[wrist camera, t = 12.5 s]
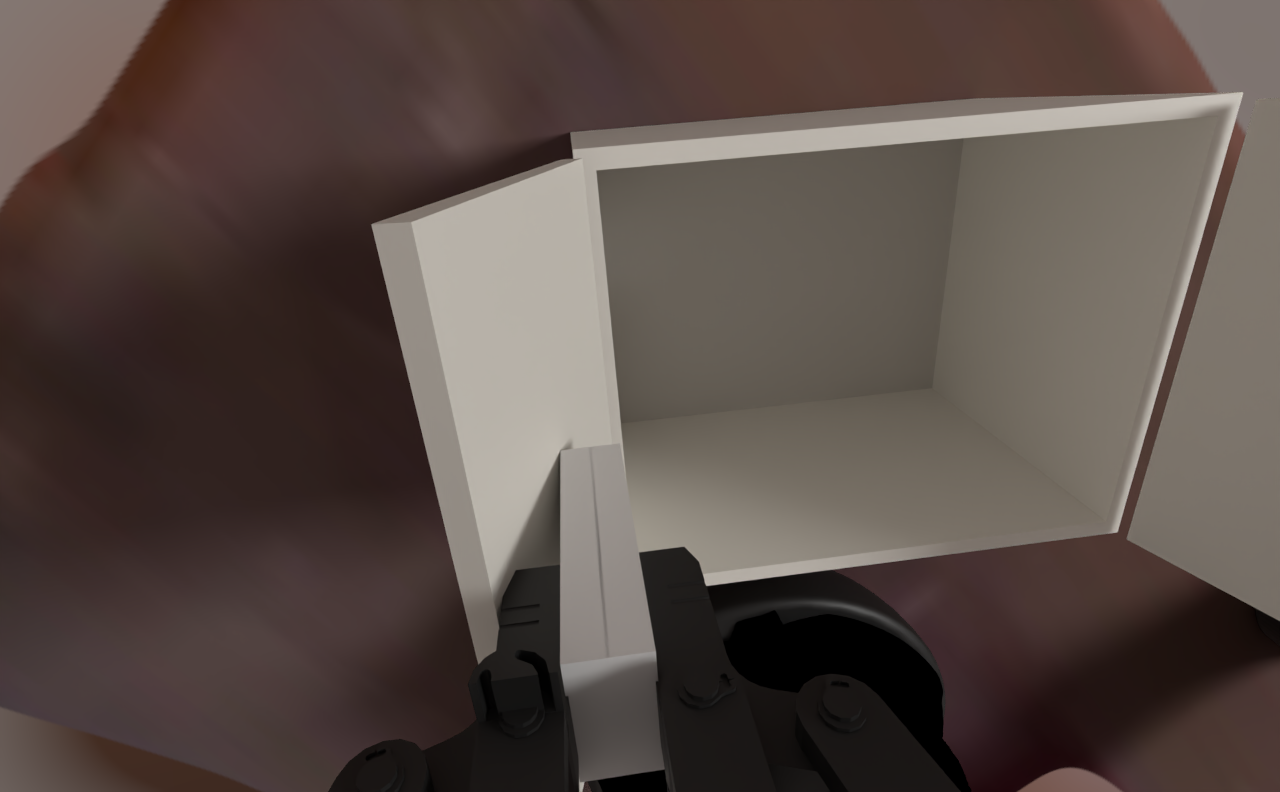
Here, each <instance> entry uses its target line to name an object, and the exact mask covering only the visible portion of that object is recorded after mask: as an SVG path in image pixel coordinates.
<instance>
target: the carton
mask: <svg viewBox="0 0 1280 792" xmlns="http://www.w3.org/2000/svg"><path fill="white" fill-rule="evenodd" d="M1242 96H1243V92H1232V93H1189V94H1147V95H1104V96H1062V97H1020V98H977V99H962V100H951V101H939V102H927V103H915V104H903V105H891V106H879V107H867V108H855V109H843V110H831V111H819V112H807V113H795V114H783V115H771V116H759V117H748V118H736V119H724V120H712V121H700V122H688V123H676V124H664V125H652V126H640V127H628V128H616V129H604V130H592V131H580V132H570V135H571V144H572V153H573V159H578V158H582V159H583V169H584V178H585V188H586V197H587V207H588V216H589V226H590V236H591V245H592V255H593V264H594V274H595V283H596V293H597V302H598V312H599V322H600V331H601V341H602V350H603V360H604V369H605V379H606V389H607V398H608V408H609V417H610V427H611V436H612V444H618V443H620V447H621V453H622V459H623V464H624V470H625V476H626V482H627V487H628V493H629V499H630V505H631V511H632V516H633V522H634V528H635V534H636V539H637V545H638V551H639V552H646V551H654V550H662V549H669V548H677V547H685V548H686V549H687V550H688V551H689V552H690V553H691V554H692V555H693V556H694V557H695V558H696V559H697V560H698V561H699V563H700V567H701V570H702V573H703V577H704V580H705V584H706V586H710V585H718V584H726V583H733V582H741V581H749V580H756V579H764V578H771V577H779V576H787V575H794V574H802V573H810V572H817V571H825V570H833V569H840V568H848V567H856V566H863V565H871V564H879V563H886V562H894V561H902V560H909V559H917V558H925V557H932V556H940V555H948V554H955V553H963V552H970V551H978V550H986V549H993V548H1001V547H1009V546H1016V545H1024V544H1032V543H1039V542H1047V541H1055V540H1062V539H1070V538H1078V537H1085V536H1093V535H1101V534H1108V533H1116V532H1118V528H1119V525H1120V521H1121V518H1122V514H1123V511H1124V507H1125V504H1126V500H1127V497H1128V493H1129V490H1130V486H1131V483H1132V479H1133V476H1134V472H1135V469H1136V466H1137V462H1138V459H1139V455H1140V452H1141V448H1142V445H1143V441H1144V438H1145V434H1146V431H1147V427H1148V424H1149V420H1150V417H1151V413H1152V410H1153V406H1154V403H1155V399H1156V396H1157V392H1158V389H1159V385H1160V382H1161V378H1162V375H1163V371H1164V368H1165V364H1166V361H1167V357H1168V354H1169V350H1170V347H1171V343H1172V340H1173V336H1174V333H1175V329H1176V326H1177V322H1178V319H1179V315H1180V312H1181V309H1182V305H1183V302H1184V298H1185V295H1186V291H1187V288H1188V284H1189V281H1190V277H1191V274H1192V270H1193V267H1194V263H1195V260H1196V256H1197V253H1198V249H1199V246H1200V242H1201V239H1202V235H1203V232H1204V228H1205V225H1206V221H1207V218H1208V214H1209V211H1210V207H1211V204H1212V200H1213V197H1214V193H1215V190H1216V186H1217V183H1218V179H1219V176H1220V172H1221V169H1222V165H1223V162H1224V158H1225V155H1226V152H1227V148H1228V145H1229V141H1230V138H1231V134H1232V131H1233V127H1234V124H1235V120H1236V117H1237V113H1238V110H1239V106H1240V102H1241V99H1242Z"/></svg>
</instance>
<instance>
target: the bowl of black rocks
mask: <svg viewBox="0 0 1280 792" xmlns="http://www.w3.org/2000/svg"><path fill="white" fill-rule="evenodd" d="M706 587H707V590H708V593H709V598H710V600H711V603H712V607H713V610H714V613H715V617H716V620H717V623H718V627H719V630H720V633H721V637H722V640H723V643H724V646H725V650H726V653H727V656H728V658H729V660H730V662H731V665H732V666H733V667H734V668H735V669H736V671H737V672H738V673H739V674H740V675H742V676H743V677H744V678H746V679H747V680H748V681H750V682H753V683H755V684H757V685H759V686H762V687H766V688H770V689H774V690H781V691H788V692H795V693H799V691H800V690H801V688H802V686H803V684H805V683H806V682H808V681H809V680H811V679H812V678H814V677H816V676H821V675H826V674H838V675H845V676H850V677H852V678H854V679H856V680H858V681H861V682H863V683H865V684H866V685H867V686H868V687H870V688H871V689H872V690H873V691H874V692H875V693H877V694H878V695H879V696H880V698H881V699H882V700H883V701H884V702H885V703H886V705H887V706H888V707H889V708H890V709H891V710H892V712H893V713H894V714H895V715H896V716H897V718H898V719H899V720H900V721H901V722H902V723H903V725H904V726H905V727H906V728H907V729H908V730H909V732H910V733H911V734H912V735H913V736H914V737H915V739H916V740H917V741H918V742H919V743H920V745H921V746H922V747H923V748H924V749H925V750H926V752H927V753H928V754H929V755H930V756H931V757H932V759H933V760H934V761H935V762H936V763H937V764H938V766H939V767H940V768H941V769H942V770H943V771H944V773H945V774H946V775H947V776H948V777H949V779H950V780H951V781H952V782H953V783H954V784H955V786H956V787H957V788H958V789H959V790H960V791H961V792H971V789H970V787H969V786H968V782H967V780H966V777H965V774H964V772H963V769H962V767H961V765H960V763H959V761H958V759H957V758H956V757H955V755H954V754H953V753H952V751H951V749H950V748H949V746H948V745H947V744H946V742H945V741H944V740H943V739H942V738H943V722H944V721H943V719H944V713H945V690H944V685H943V680H942V676H941V673H940V671H939V668H938V665H937V662H936V660H935V659H934V657H933V655H932V653H931V651H930V650H929V648H928V647H927V646H926V644H925V643H924V642H923V641H922V639H921V638H920V637H919V635H918V634H917V633H916V632H915V631H914V629H913V628H912V627H911V626H910V625H909V624H908V623H907V622H906V621H905V620H904V619H903V618H902V617H901V616H900V615H899V614H898V613H897V612H896V611H895V610H894V609H893V608H891V607H890V606H889V605H888V604H887V603H885V602H884V601H883V600H882V599H880V598H879V597H878V596H876V595H875V594H874V593H872V592H871V591H869V590H868V589H866V588H865V587H863V586H862V585H860V584H858V583H857V582H855V581H853V580H852V579H850V578H848V577H846V576H844V575H842V574H839V573H837V572H835V571H833V570H825V571H817V572H810V573H802V574H794V575H787V576H779V577H771V578H764V579H756V580H749V581H741V582H733V583H726V584H718V585H710V586H706ZM588 783H589V786H590V788H591V791H592V792H668V790H667V780H666V774H665V769H663V770H657V771H650V772H644V773H637V774H631V775H625V776H619V777H612V778H606V779H599V780H593V781H588Z"/></svg>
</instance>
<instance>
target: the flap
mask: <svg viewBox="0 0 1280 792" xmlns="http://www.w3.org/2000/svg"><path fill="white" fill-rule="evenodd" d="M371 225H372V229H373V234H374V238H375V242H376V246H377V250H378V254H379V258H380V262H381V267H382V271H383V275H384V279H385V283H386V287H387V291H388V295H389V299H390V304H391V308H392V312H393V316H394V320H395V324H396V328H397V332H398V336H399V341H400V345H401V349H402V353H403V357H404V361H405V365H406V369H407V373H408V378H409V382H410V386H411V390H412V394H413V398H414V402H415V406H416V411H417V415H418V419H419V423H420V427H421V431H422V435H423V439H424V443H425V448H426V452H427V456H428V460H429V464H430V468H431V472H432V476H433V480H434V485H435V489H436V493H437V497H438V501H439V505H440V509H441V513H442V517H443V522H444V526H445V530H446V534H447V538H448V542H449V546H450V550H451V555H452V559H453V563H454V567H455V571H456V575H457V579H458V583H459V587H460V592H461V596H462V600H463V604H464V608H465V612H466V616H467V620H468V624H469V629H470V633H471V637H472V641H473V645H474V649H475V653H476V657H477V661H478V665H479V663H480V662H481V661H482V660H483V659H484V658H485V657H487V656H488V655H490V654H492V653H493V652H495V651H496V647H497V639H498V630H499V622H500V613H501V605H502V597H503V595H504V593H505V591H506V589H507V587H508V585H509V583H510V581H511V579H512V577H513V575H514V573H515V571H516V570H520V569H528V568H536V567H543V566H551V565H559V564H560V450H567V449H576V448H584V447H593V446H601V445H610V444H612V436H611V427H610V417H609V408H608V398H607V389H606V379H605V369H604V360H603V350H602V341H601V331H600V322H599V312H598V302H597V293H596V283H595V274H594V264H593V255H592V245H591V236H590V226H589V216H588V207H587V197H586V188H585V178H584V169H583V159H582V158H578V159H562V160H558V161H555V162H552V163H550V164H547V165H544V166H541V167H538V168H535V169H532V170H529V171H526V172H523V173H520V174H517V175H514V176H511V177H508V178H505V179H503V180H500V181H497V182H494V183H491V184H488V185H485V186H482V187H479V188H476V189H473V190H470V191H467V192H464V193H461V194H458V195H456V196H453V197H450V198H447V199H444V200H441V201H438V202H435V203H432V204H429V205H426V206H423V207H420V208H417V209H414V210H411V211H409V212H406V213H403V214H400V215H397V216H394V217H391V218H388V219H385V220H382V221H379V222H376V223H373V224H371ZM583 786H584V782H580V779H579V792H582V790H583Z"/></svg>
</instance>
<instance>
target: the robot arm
mask: <svg viewBox="0 0 1280 792" xmlns="http://www.w3.org/2000/svg"><path fill="white" fill-rule="evenodd" d="M1256 618H1257V622H1258V624H1259V627H1260V628H1261V630H1262V631H1263V633H1264V634H1265V635H1266V636H1267V637H1269V638H1270V639H1271V640H1272V641H1274V642H1275V643H1276V644H1278V645H1279V646H1280V621H1279V620H1277V619H1275V618H1273V617H1271V616H1269V615H1267V614H1266V613H1264V612H1262V611H1260V610H1258V609H1256ZM468 687H469V691H470V695H471V698H472V702H473V706H474V710H475V714H476V718H477V719H476V721H475V722H474V723H473V724H472V725H470V726H469V727H468V728H467V729H465V730H464V731H463V732H461V733H459V734H458V735H456V736H454V737H452V738H450V739H448V740H446V741H444V742H442V743H439V744H437V745H435V746H433V747H430V748H428V749H426V750H424V751H422V750H421V749H420V748H419V747H418V746H417V745H416V744H415V743H412V742H408V741H405V740H401V739H399V740H389V741H383V742H380V743H378V744H376V745H373V746H371V747H369V748H366V749H365V750H363V751H362V752H361V753H359V754H358V755H357V756H356V757H354V758H353V759H352V760H350V761H349V762H348V763H347V765H346V766H345V767H344V769H343V770H342V771H341V772H340V774H339V775H338V776H337V778H336V779H335V781H334V783H333V784H332V786H331V788H330V790H329V791H328V792H579V779H580V782H586V781H593V780H599V779H606V778H612V777H619V776H625V775H631V774H637V773H644V772H650V771H657V770H663V769H665V774H666V780H667V790H668V792H961V791H960V790H959V789H958V788H957V787H956V786H955V784H954V783H953V782H952V781H951V780H950V779H949V777H948V776H947V775H946V774H945V773H944V771H943V770H942V769H941V768H940V767H939V766H938V764H937V763H936V762H935V761H934V760H933V759H932V757H931V756H930V755H929V754H928V753H927V752H926V750H925V749H924V748H923V747H922V746H921V745H920V743H919V742H918V741H917V740H916V739H915V737H914V736H913V735H912V734H911V733H910V732H909V730H908V729H907V728H906V727H905V726H904V725H903V723H902V722H901V721H900V720H899V719H898V718H897V716H896V715H895V714H894V713H893V712H892V710H891V709H890V708H889V707H888V706H887V705H886V703H885V702H884V701H883V700H882V699H881V698H880V696H879V695H878V694H877V693H875V692H874V691H873V690H872V689H871V688H870V687H868V686H867V685H866V684H865V683H863V682H861V681H858V680H856V679H854V678H852V677H850V676H845V675H838V674H826V675H821V676H816V677H814V678H812V679H811V680H809V681H808V682H806V683H805V684H803V686H802V688H801V690H800V691H799V693H795V692H788V691H781V690H774V689H770V688H766V687H762V686H759V685H757V684H755V683H753V682H750V681H748V680H747V679H746V678H744V677H743V676H742V675H740V674H739V673H738V672H737V671H736V669H735V668H734V667H733V666H732V665H731V662H730V660H729V658H728V656H727V653H726V650H725V646H724V643H723V640H722V637H721V633H720V630H719V627H718V623H717V620H716V617H715V613H714V610H713V607H712V603H711V600H710V598H709V593H708V590H707V587H706V584H705V580H704V577H703V573H702V570H701V567H700V563H699V561H698V560H697V559H696V558H695V557H694V556H693V555H692V554H691V553H690V552H689V551H688V550H687V549H686V548H685V547H677V548H669V549H662V550H654V551H646V552H639V551H638V545H637V539H636V534H635V528H634V522H633V516H632V511H631V505H630V499H629V493H628V487H627V482H626V476H625V470H624V464H623V459H622V453H621V447H620V443H618V444H610V445H601V446H593V447H584V448H576V449H567V450H560V564H559V565H551V566H543V567H536V568H528V569H520V570H516V571H515V573H514V575H513V577H512V579H511V581H510V583H509V585H508V587H507V589H506V591H505V593H504V595H503V597H502V605H501V613H500V622H499V630H498V639H497V647H496V651H495V652H493V653H492V654H490V655H488V656H487V657H485V658H484V659H483V660H482V661H481V662H480V663H479V665H478V666H477V667H476V668H475V669H474V670H473V673H472V675H471V678H470V680H469V683H468Z"/></svg>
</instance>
